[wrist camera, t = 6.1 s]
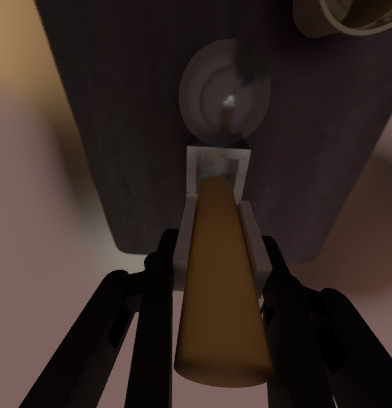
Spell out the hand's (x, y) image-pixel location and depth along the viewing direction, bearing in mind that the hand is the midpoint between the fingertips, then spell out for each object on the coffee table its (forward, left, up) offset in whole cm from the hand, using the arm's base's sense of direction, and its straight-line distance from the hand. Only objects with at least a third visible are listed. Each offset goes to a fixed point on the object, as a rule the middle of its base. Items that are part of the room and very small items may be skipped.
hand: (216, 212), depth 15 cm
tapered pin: (0, 0, -4) cm, 4 cm away
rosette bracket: (0, 0, -15) cm, 15 cm away
